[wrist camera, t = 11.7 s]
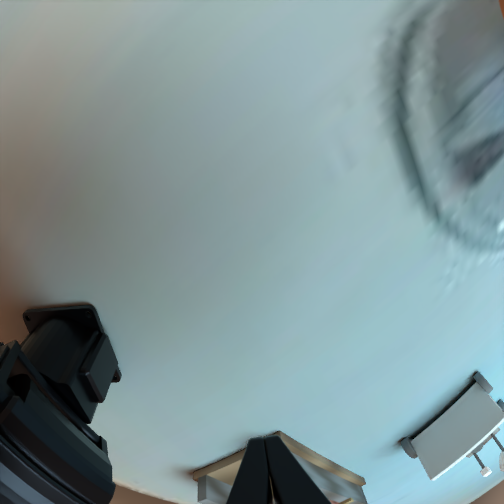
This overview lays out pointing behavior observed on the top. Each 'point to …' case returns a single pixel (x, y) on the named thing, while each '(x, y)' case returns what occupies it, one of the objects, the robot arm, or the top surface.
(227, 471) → the track
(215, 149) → the top surface
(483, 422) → the toy car
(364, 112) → the top surface
